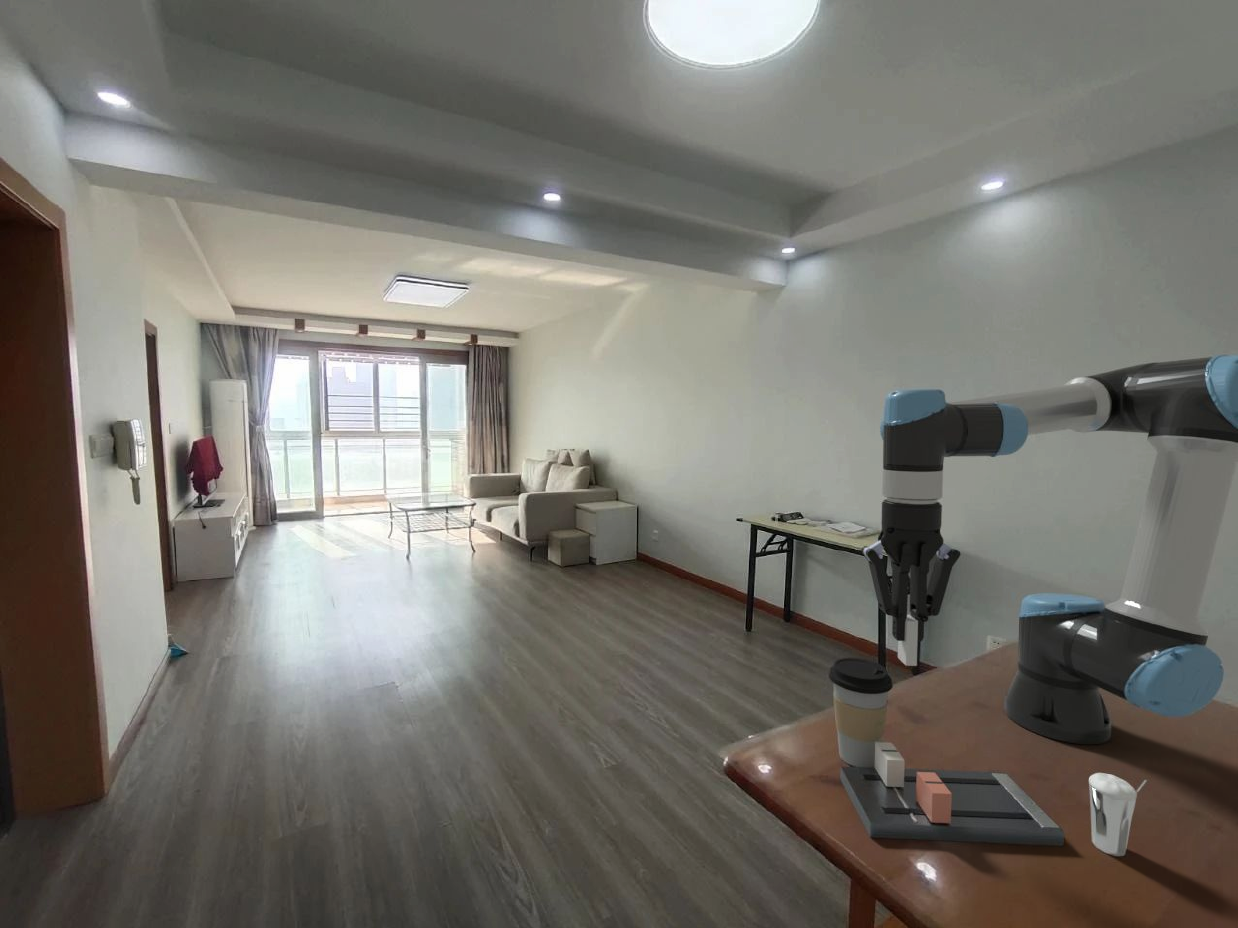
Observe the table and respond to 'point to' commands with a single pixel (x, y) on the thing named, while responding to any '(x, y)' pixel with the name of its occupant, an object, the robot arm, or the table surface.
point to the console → (977, 808)
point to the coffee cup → (859, 708)
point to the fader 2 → (933, 797)
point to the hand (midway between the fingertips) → (907, 661)
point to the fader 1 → (889, 764)
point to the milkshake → (1111, 812)
